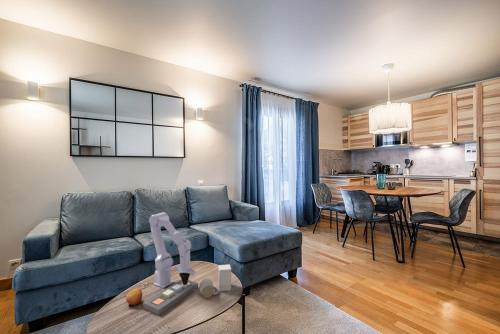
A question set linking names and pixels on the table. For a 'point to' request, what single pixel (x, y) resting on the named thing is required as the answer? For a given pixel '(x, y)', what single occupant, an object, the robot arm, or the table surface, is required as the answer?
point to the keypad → (172, 300)
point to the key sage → (168, 294)
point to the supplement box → (224, 277)
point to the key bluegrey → (177, 288)
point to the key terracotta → (158, 301)
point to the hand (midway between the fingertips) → (185, 284)
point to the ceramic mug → (207, 288)
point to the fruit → (134, 296)
